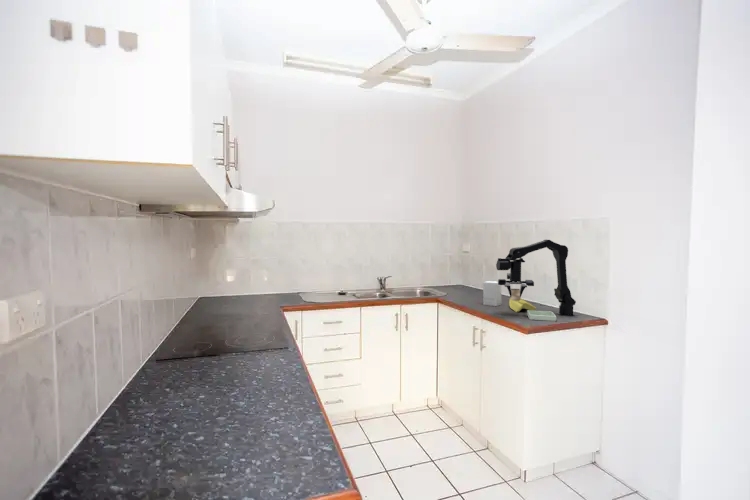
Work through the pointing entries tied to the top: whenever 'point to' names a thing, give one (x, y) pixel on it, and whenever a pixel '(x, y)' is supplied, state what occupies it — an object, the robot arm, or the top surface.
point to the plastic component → (520, 305)
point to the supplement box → (491, 293)
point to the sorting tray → (541, 315)
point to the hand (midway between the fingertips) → (515, 297)
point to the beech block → (515, 294)
